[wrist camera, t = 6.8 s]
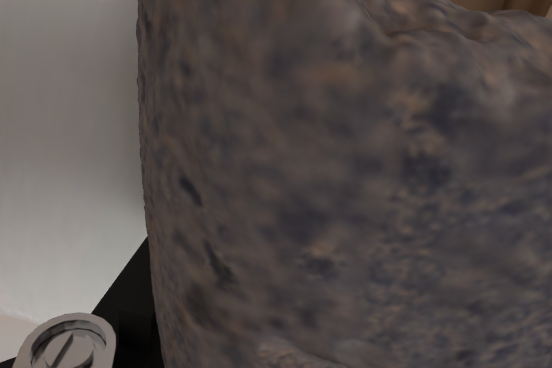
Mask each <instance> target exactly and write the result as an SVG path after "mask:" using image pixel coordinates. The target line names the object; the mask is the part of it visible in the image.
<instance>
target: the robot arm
mask: <svg viewBox="0 0 552 368" xmlns="http://www.w3.org/2000/svg"><path fill="white" fill-rule="evenodd" d="M0 368H165V366H164V361H163V358H162V352H161V341H160V335H159V330H158V324H157V321H156V312H155V303H154V296H153V292H152V277H151V269H150V249H149V241H148V236H147V237H146V239H145V240H144V242H143V243H142V244H141V246H140V247H139V248H138V250H137V251H136V253H135V254H134V255H133V257H132V258H131V259H130V261H129V262H128V263H127V265H126V266H125V268H124V269H123V270H122V272H121V273H120V274H119V276H118V277H117V279H116V280H115V281H114V283H113V284H112V285H111V287H110V288H109V290H108V291H107V292H106V294H105V295H104V296H103V298H102V299H101V300H100V302H99V303H98V305H97V306H96V307H95V309H94V310H93V311H92V313H91V314H87V313H71V314H64V315H61V316H58V317H55V318H52V319H50V320H48V321H47V322H45V323H43V324H41V325H40V326H38V327H37V328H36V329H35V330H34V331H33V332H32V333H30V334H29V335H28V336H27V338H26V339H25V341H24V343H23V345H22V346H21V348H20V350H19V352H18V355H17V357H15V358H12V359H9V360H6V361H3V362H1V363H0Z"/></svg>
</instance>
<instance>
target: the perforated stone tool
mask: <svg viewBox="0 0 552 368" xmlns="http://www.w3.org/2000/svg"><path fill="white" fill-rule="evenodd" d="M136 27H137V29H136V36H137V40H138V54H139V55H138V78H137V84H138V88H139V90H138V94H139V95H138V101H139V131H140V133H139V135H140V145H141V148H140V157H141V162H142V165H141V167H142V168H141V169H142V183H143V190H144V196H143V197H144V201H145V206H144V209H145V220H146V228H147V234H148V241H149V249H150V269H151V277H152V292H153V296H154V303H155V312H156V321H157V324H158V330H159V335H160V341H161V352H162V358H163V361H164V366H165V368H552V20H551V19H548V18H545V17H540V16H536V15H533V14H531V13H529V12H526V11H523V10H496V11H491V12H483V11H469V10H467V9H466V8H464V7H462V6H459V5H457V4H453V3H452V2H450V1H449V0H138V19H137V25H136Z"/></svg>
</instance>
